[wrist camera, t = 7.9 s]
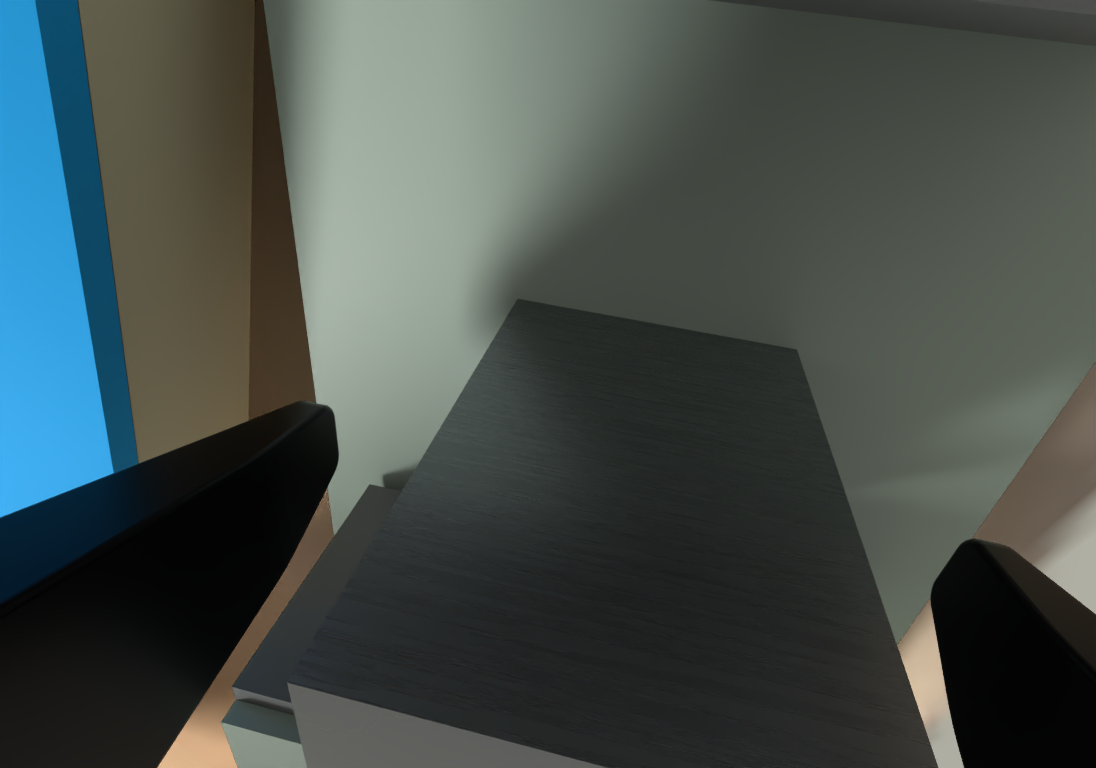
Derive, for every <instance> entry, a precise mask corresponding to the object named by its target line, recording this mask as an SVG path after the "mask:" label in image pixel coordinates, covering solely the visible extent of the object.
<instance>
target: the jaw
mask: <svg viewBox="0 0 1096 768" xmlns="http://www.w3.org/2000/svg"><path fill="white" fill-rule="evenodd" d="M711 1H719V2H727V3H736V4H744V5H753V6H761V7H770V8H778V9H786V10H795V11H803V12H812V13H820V14H829V15H837V16H845V17H854V18H862V19H871V20H879V21H888V22H896V23H904V24H913V25H921V26H930V27H938V28H947V29H955V30H963V31H972V32H980V33H989V34H997V35H1006V36H1014V37H1022V38H1031V39H1039V40H1048V41H1056V42H1065V43H1073V44H1081V45H1090V46H1096V0H711Z"/></svg>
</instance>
